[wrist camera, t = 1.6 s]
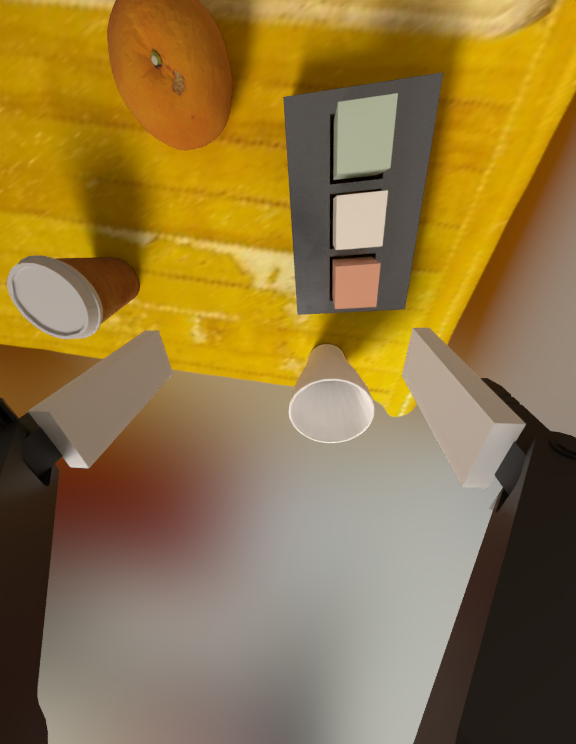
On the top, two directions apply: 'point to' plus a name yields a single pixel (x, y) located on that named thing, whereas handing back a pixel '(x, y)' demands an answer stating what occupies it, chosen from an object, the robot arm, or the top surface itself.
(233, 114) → the top surface
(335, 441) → the cup
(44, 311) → the disposable coffee cup
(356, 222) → the key cream
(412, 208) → the panel
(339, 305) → the key terracotta
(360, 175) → the key sage
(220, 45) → the fruit
